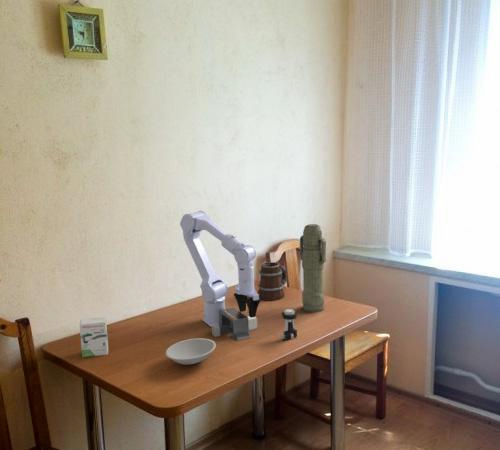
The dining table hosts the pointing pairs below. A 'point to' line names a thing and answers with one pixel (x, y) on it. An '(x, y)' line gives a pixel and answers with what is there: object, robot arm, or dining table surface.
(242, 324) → the motor housing
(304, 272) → the thermos
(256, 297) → the robot arm
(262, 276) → the mug
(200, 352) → the dish
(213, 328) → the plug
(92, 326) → the ink box
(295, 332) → the push button
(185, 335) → the dining table surface
